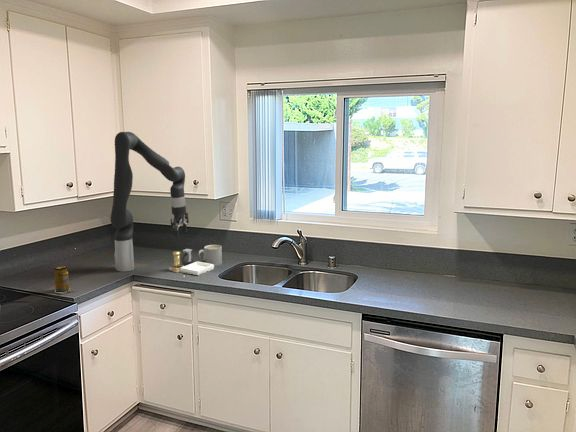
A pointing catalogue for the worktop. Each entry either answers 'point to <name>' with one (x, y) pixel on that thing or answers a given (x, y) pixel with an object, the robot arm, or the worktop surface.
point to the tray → (197, 268)
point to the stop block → (175, 269)
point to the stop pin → (176, 259)
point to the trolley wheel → (187, 257)
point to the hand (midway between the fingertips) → (180, 234)
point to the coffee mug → (212, 254)
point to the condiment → (61, 279)
